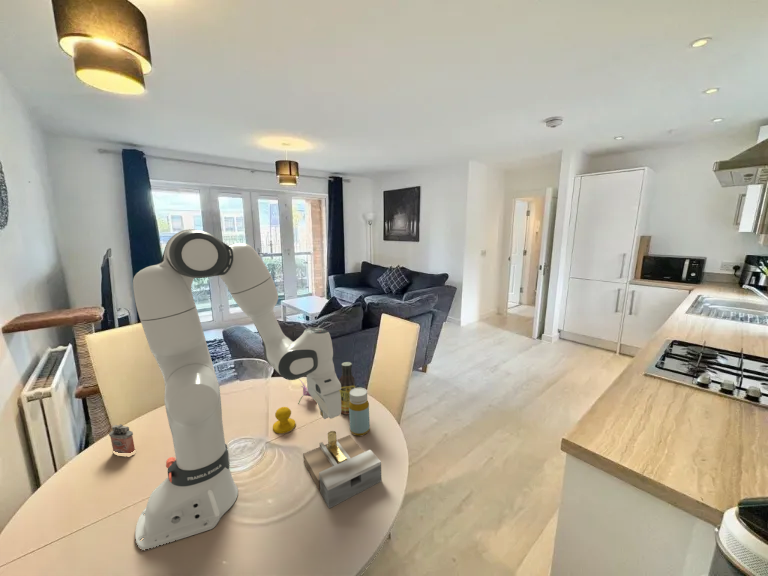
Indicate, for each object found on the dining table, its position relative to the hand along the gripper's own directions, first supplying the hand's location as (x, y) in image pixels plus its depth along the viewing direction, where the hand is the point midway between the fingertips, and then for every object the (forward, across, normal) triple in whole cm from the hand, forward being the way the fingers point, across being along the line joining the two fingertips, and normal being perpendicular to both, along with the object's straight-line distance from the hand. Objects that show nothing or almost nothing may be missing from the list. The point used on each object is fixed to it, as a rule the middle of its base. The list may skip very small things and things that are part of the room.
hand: (324, 416), depth 102 cm
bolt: (+8, +10, -1) cm, 13 cm away
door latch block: (+11, +13, -1) cm, 17 cm away
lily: (+12, -32, +4) cm, 34 cm away
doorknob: (+11, -19, -9) cm, 24 cm away
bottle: (+12, -1, +13) cm, 18 cm away
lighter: (+10, -35, -57) cm, 68 cm away
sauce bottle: (+12, -15, +15) cm, 25 cm away
